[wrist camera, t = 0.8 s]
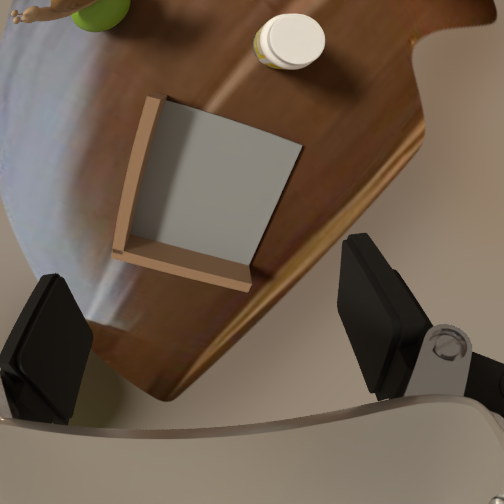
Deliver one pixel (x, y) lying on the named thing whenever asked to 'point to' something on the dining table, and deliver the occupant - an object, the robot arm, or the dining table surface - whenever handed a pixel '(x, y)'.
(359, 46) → the dining table surface
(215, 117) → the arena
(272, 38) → the supplement bottle
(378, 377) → the robot arm
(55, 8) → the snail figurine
